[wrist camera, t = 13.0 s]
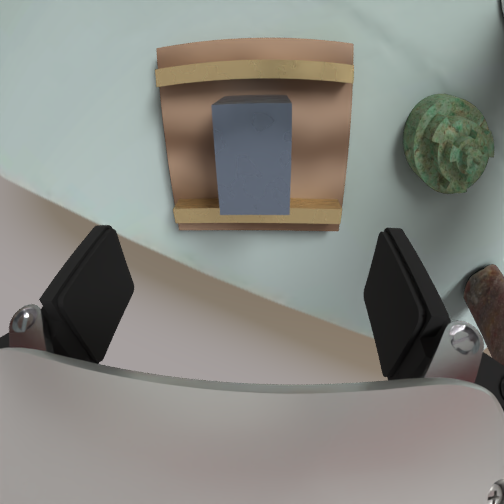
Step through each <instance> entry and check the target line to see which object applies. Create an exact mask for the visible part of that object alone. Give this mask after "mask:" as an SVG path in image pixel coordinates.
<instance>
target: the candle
mask: <svg viewBox="0 0 504 504" xmlns="http://www.w3.org/2000/svg"><path fill="white" fill-rule="evenodd" d="M463 296H464V300H465V302H466V304H467V306H468V308H469V310H470V312H471V314H472V316H473V318H474V320H475V322H476V324H477V326H478V328H479V330H480V332H481V334H482V336H483V338H484V340H485V343H486V345H487V347H488V349H489V351H490V354H491V356H492V358H493V359H494V360H496V361H498V362H499V363H501V364H502V365H504V276H503V274H502V273H501V272H500V270H499V269H498V267H497V266H496V265H493V264H491V265H488V266H487V267H485V268H484V269H483V270H481V271H478V272H477V273H475V274H473V275H472V276H471V277H470V279H469V281H468V282H467V284H466V287H465V290H464V295H463Z"/></svg>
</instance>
